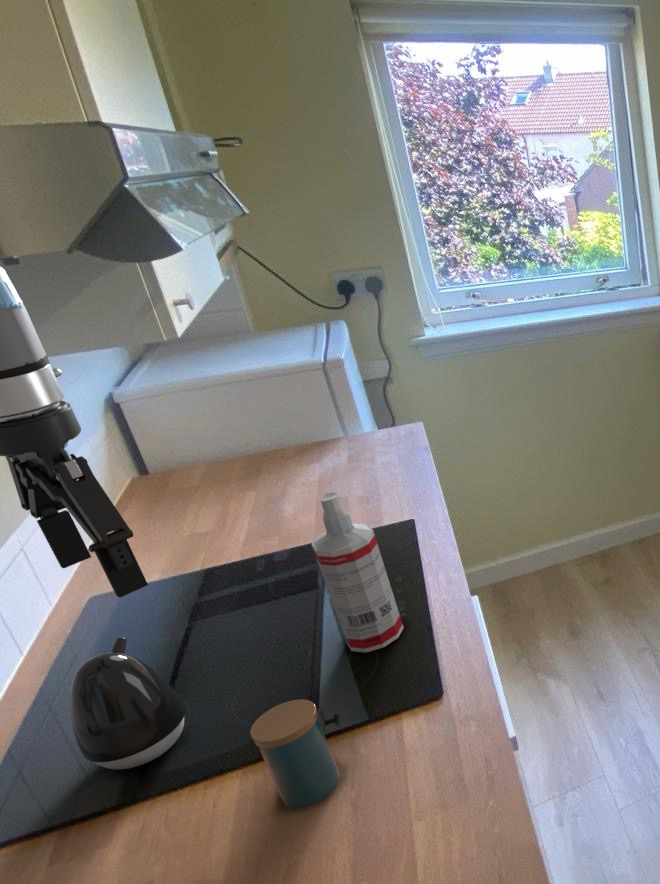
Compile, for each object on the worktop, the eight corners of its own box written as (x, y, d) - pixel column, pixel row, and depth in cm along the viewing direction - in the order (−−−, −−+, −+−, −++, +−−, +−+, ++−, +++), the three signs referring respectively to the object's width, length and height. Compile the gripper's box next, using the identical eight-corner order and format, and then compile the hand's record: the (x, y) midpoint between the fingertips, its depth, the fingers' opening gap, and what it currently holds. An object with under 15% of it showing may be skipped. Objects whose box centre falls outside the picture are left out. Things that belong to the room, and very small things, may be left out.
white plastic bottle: (410, 636, 114) (366, 495, 103) (357, 660, 109) (306, 515, 99) (393, 614, 119) (349, 478, 108) (342, 636, 114) (291, 496, 104)
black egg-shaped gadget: (208, 710, 100) (166, 621, 94) (176, 769, 91) (127, 675, 85) (119, 730, 98) (69, 640, 91) (77, 793, 89) (18, 698, 82)
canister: (277, 819, 85) (245, 750, 80) (285, 778, 90) (255, 710, 85) (340, 797, 87) (312, 728, 82) (344, 758, 92) (318, 692, 88)
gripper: (121, 415, 75) (196, 585, 84) (15, 382, 86) (92, 536, 95) (26, 443, 69) (117, 623, 78) (-75, 404, 80) (15, 566, 89)
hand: (103, 576), depth 86 cm, fingers open, 13 cm apart
